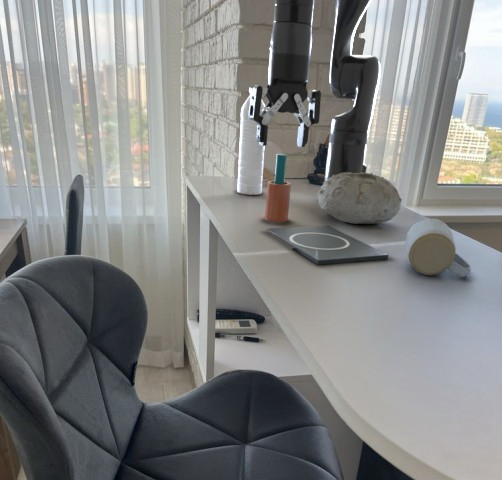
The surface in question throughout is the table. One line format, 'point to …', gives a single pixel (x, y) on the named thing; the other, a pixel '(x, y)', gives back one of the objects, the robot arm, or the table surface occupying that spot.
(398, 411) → the table surface
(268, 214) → the pen cup
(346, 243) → the slate board
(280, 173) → the marker
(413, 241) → the ceramic mug
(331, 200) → the grey rounded lump
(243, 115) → the water bottle
